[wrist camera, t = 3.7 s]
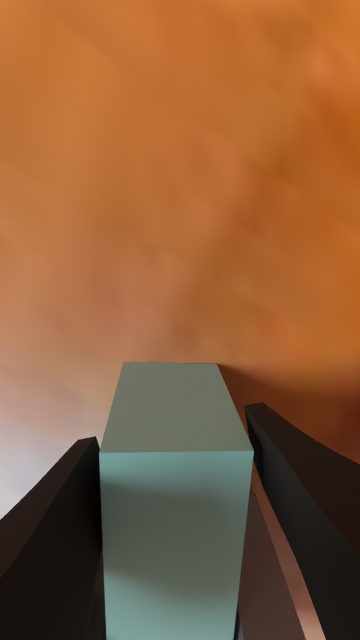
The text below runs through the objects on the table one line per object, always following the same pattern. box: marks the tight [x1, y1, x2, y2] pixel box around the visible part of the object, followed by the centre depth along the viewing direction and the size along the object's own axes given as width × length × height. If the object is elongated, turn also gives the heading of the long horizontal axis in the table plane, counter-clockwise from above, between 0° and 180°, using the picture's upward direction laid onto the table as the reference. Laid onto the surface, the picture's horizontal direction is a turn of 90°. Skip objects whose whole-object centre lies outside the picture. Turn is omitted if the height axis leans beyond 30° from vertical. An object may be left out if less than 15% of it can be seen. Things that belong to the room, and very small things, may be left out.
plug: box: [99, 363, 254, 640], centre depth 12 cm, size 4×10×6 cm, turn 178°
